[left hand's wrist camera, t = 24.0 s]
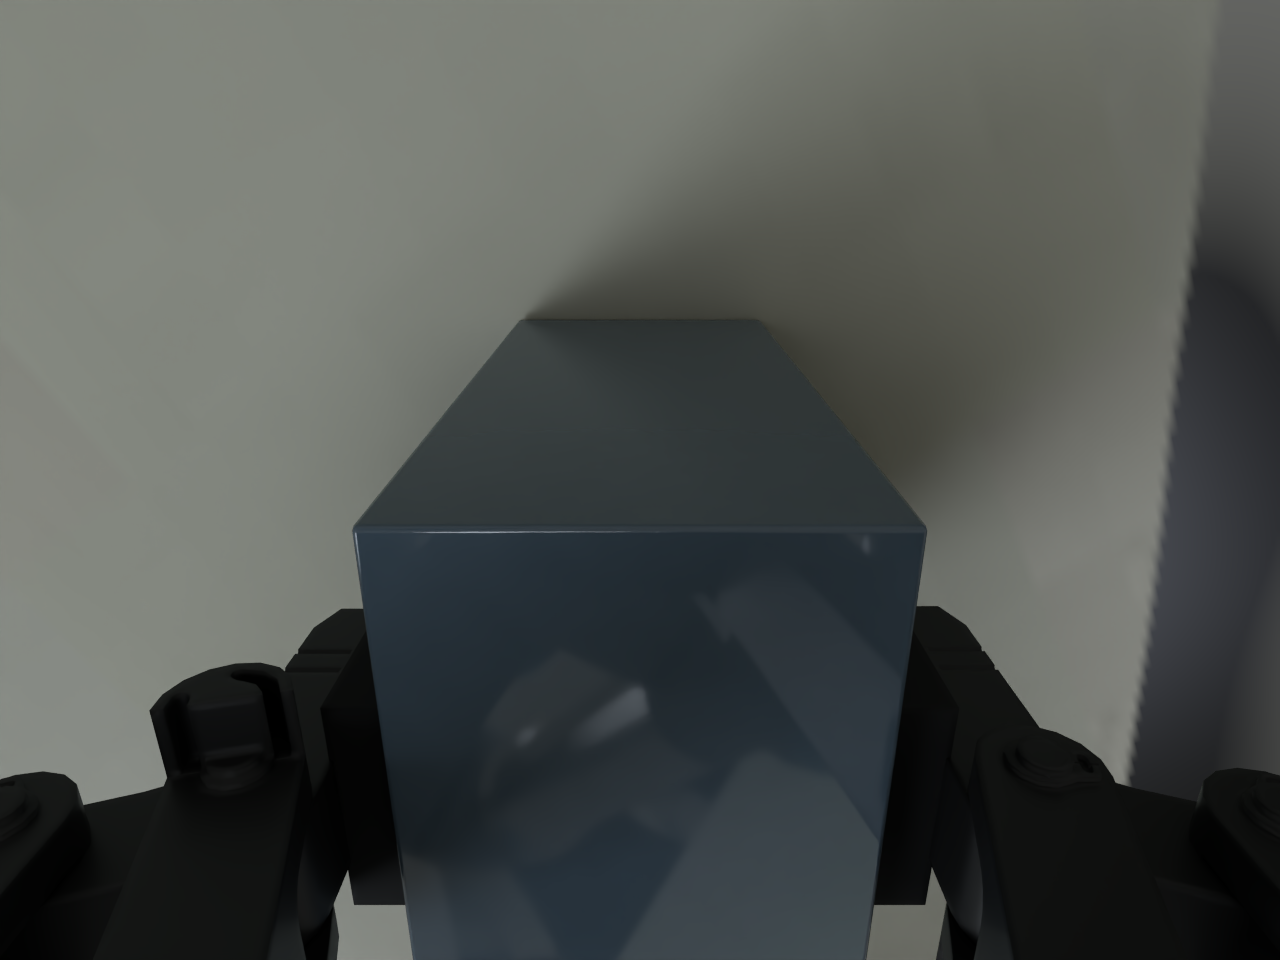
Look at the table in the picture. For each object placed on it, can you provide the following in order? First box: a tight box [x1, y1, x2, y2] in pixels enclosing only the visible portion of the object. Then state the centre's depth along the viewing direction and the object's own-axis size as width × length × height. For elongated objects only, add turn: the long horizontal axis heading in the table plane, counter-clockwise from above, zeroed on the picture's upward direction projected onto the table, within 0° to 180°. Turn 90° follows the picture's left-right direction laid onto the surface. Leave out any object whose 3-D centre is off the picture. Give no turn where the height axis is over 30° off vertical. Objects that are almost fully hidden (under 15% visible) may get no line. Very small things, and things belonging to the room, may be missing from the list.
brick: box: [352, 320, 927, 960], centre depth 13 cm, size 5×7×10 cm
